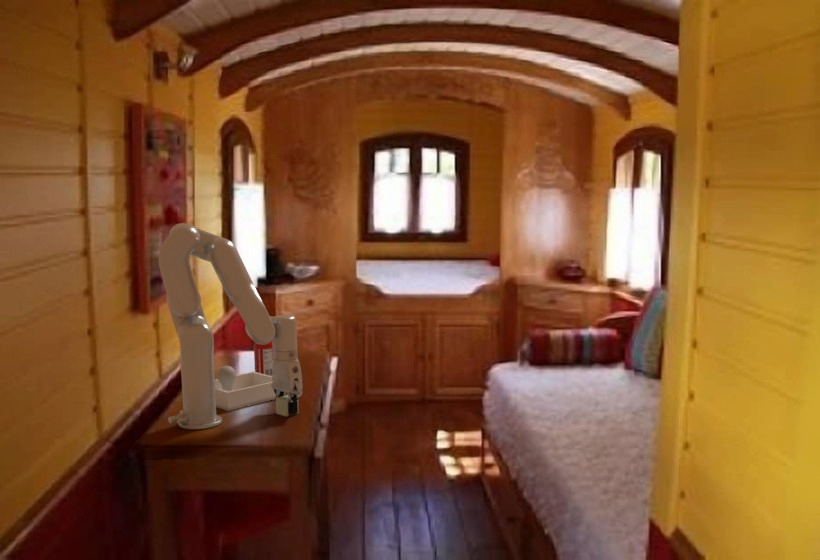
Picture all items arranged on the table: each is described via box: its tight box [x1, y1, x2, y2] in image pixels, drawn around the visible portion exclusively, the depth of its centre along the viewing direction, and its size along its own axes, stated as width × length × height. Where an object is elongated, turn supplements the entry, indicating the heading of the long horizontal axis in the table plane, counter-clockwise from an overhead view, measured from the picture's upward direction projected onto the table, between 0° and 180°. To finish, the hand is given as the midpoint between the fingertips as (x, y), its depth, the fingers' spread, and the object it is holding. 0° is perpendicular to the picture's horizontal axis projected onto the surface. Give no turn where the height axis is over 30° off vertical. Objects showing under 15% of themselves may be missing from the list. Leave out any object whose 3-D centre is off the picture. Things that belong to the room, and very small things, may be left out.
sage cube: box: [275, 394, 300, 417], centre depth 246 cm, size 5×5×5 cm
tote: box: [215, 371, 282, 412], centre depth 263 cm, size 22×18×6 cm
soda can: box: [253, 341, 273, 376], centre depth 289 cm, size 8×8×15 cm
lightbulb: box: [216, 365, 237, 391], centre depth 260 cm, size 6×6×11 cm
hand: (287, 411), depth 246 cm, fingers closed on sage cube, 5 cm apart
